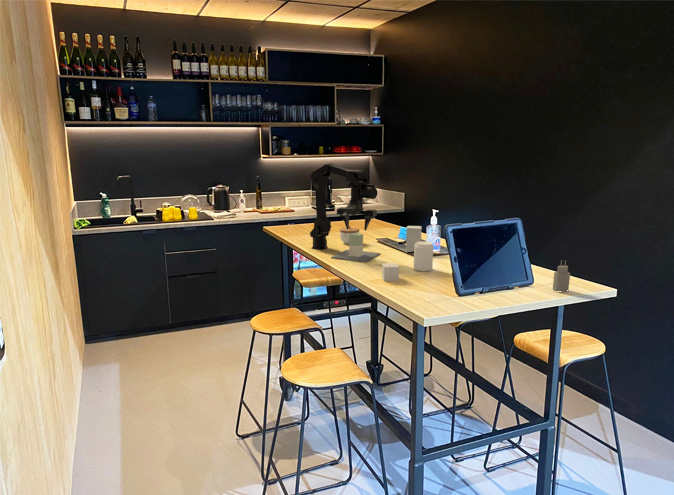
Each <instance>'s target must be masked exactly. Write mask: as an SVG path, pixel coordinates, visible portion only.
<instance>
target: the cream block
mask: <svg viewBox="0 0 674 495" xmlns="http://www.w3.org/2000/svg"><path fill="white" fill-rule="evenodd" d="M348 245H349V244H348ZM348 248H349V249H348V250H349V255H350V256H361V255H362V254H363V251H364V243H363V244H362V245H360V246H352V245H349V247H348Z"/></svg>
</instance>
